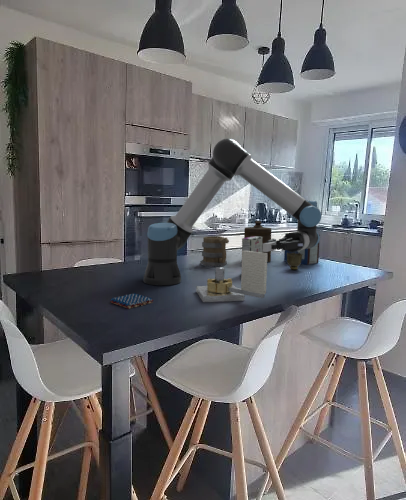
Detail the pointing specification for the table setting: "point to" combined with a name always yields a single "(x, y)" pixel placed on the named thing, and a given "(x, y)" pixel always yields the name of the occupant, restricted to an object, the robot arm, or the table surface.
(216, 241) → the tankard
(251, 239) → the candy bar box
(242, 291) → the ring nut
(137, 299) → the woven mat
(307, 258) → the protein box
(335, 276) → the table surface
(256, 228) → the wooden container
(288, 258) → the cup
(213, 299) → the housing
